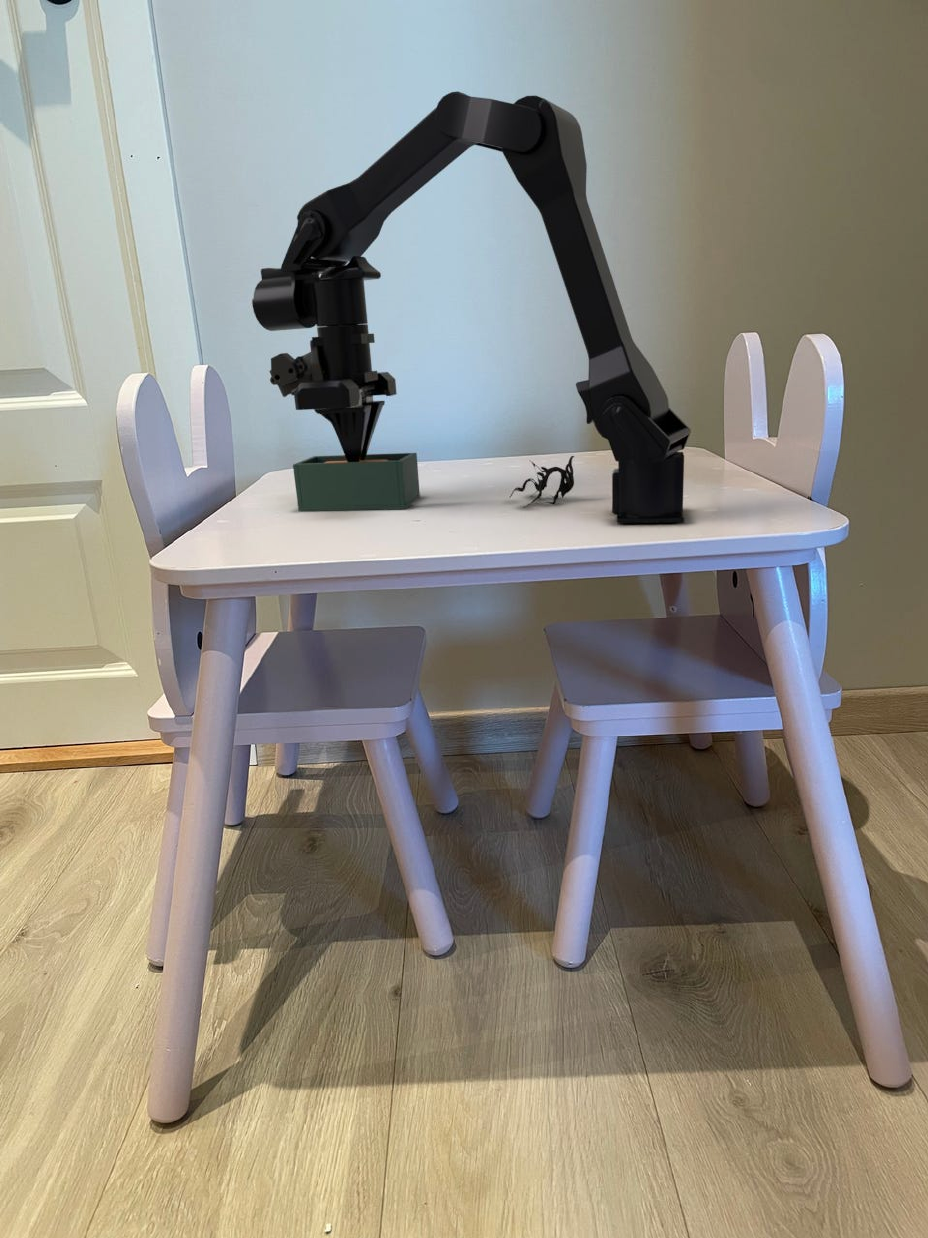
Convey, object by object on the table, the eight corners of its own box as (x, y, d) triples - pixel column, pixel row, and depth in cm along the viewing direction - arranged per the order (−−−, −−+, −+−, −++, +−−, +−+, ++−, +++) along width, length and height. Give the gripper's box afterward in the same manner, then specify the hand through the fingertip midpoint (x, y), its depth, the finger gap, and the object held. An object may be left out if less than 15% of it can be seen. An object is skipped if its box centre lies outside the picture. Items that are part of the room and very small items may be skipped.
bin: (420, 497, 101) (416, 452, 100) (405, 509, 95) (401, 461, 93) (318, 500, 104) (313, 456, 102) (298, 511, 98) (292, 464, 96)
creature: (508, 519, 92) (578, 502, 90) (495, 472, 90) (566, 453, 88) (518, 505, 99) (583, 488, 97) (506, 461, 98) (572, 443, 95)
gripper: (306, 329, 103) (321, 455, 108) (239, 330, 86) (260, 480, 91) (392, 324, 101) (402, 453, 106) (340, 323, 84) (356, 477, 89)
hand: (356, 465), depth 98 cm, fingers closed
